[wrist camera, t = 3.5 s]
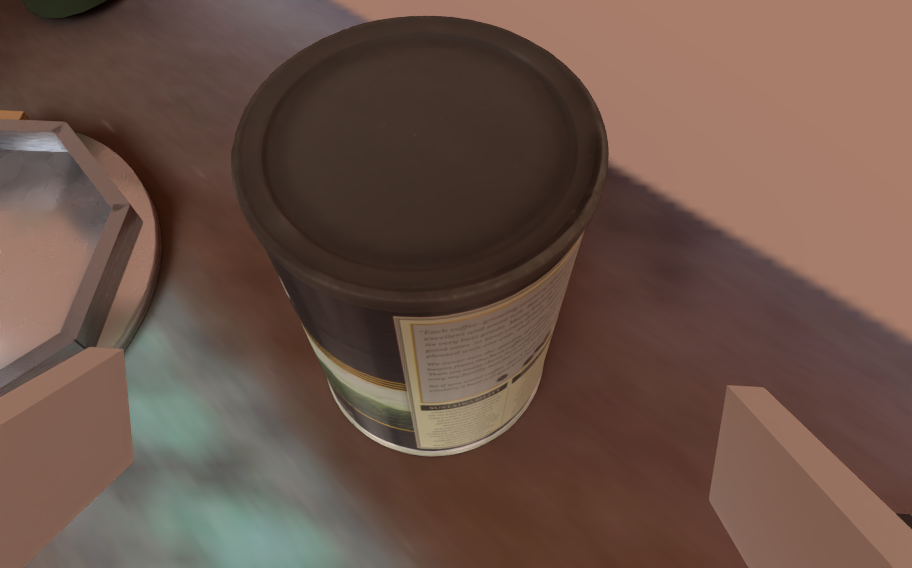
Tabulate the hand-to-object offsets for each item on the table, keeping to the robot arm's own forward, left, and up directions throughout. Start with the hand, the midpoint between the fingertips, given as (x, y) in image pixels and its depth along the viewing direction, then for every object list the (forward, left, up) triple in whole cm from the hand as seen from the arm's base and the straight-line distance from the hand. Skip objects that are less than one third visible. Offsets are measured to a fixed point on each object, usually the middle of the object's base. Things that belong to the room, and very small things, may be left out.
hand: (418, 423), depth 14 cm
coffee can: (-1, +8, -14) cm, 16 cm away
